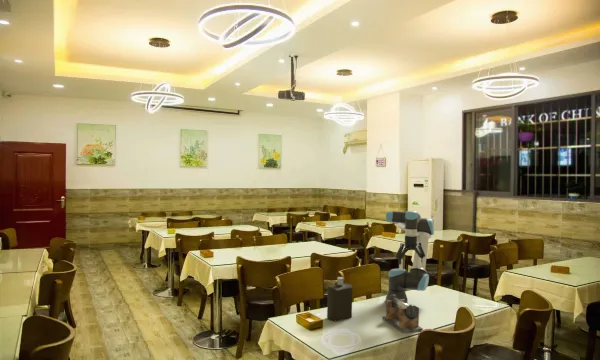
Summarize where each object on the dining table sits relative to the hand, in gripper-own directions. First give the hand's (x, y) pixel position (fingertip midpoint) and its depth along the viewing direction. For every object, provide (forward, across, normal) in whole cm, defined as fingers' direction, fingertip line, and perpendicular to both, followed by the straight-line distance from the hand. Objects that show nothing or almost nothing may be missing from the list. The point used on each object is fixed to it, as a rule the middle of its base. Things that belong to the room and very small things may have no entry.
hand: (410, 268), depth 269 cm
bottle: (+30, -46, +6) cm, 55 cm away
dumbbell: (+19, -13, -13) cm, 27 cm away
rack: (+30, -14, -14) cm, 35 cm away
